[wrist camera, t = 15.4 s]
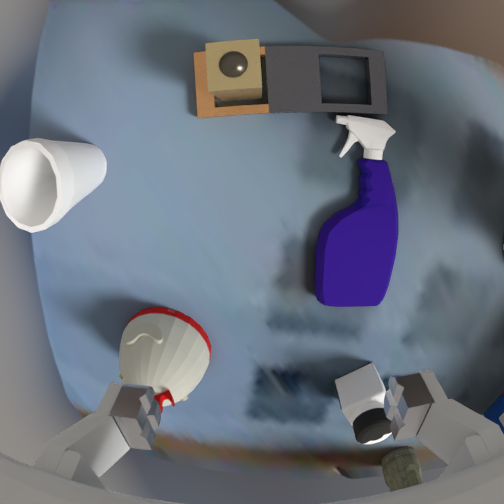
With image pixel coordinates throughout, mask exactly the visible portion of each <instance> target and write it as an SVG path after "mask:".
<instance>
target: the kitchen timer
mask: <svg viewBox="0 0 504 504" xmlns="http://www.w3.org/2000/svg"><path fill="white" fill-rule="evenodd" d="M210 356H211V345H210V342H209V339H208V336H207V334H206V333H205V332H204V330H203V329H202V327H201V326H200V325H199V324H198V323H196V322H195V321H194V320H193V319H192V318H191V317H189V316H187V315H185V314H183V313H181V312H179V311H176V310H172V309H168V308H149V309H145V310H142V311H140V312H139V313H137V314H136V315H134V316H133V317H132V318H131V320H130V321H129V323H128V324H127V326H126V328H125V329H124V331H123V334H122V339H121V344H120V350H119V367H120V372H121V374H120V378H121V379H122V380H123V382H124V384H125V383H126V384H134V385H143V386H151V387H153V389H154V392H155V396H154V399H155V400H156V401H158V403H159V405H160V410H161V413H162V411H163V407H162V406H168V405H171V404H172V405H173V406H174V405H175V404H174V403H176V402H178V401H180V400H181V401H185V400H187V398H188V394H189V393H190V392H191V391H192V390H193V389H194V388H195V387H196V386H197V384H198V383H199V382H200V380H201V379H202V377H203V375H204V373H205V371H206V369H207V367H208V365H209V361H210Z"/></svg>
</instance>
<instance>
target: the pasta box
mask: <svg viewBox="0 0 504 504" xmlns="http://www.w3.org/2000/svg"><path fill="white" fill-rule="evenodd" d="M484 416H485V418H487V419H489V420H490V421H492V422H494V423H496V424H498V425H499V427H500V429H501V431H502V432H503V434H504V392H503V393H502V394H501V395H500V397H499V398H498V399H497V400H496V401H495V402H494V404H493V405H492V406H491V407H490V408H489V409H488V410H487V412H486V413H485V414H484Z"/></svg>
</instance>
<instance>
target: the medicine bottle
mask: <svg viewBox="0 0 504 504" xmlns="http://www.w3.org/2000/svg"><path fill="white" fill-rule="evenodd" d="M335 385H336V390H337V394H338V398H339V402H340V407H341V410H342V412H343V413H344V415H345V416H346V418H347V419H348V421H349V422H350V423H351V425H352V426H353V429H354V433H355V437H356V440H357V441H358V442H360V443H362V444H373V443H377V442H380V441H382V440H384V439H385V438H387V437H388V436H389V435H390V434H391V433H392V432H391V429H390V425H391V422H392V421H391V420H389V419H388V418H387V417H386V414H385V411H384V397H385V393H386V389H385V387H384V384H383V382H382V380H381V378H380V376H379V374H378V372H377V370H376V367H375V365H374V364H373V363H370V364H368V365H366V366H364V367H362V368H359V369H357V370H355V371H353V372H351V373H349V374H347V375H345V376H342V377H340V378H338V379H336V380H335Z"/></svg>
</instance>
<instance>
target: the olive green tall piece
mask: <svg viewBox="0 0 504 504" xmlns="http://www.w3.org/2000/svg"><path fill="white" fill-rule="evenodd" d="M381 464H382V467H383V470H382V471H383V474H384V478H385V482H386V484H387V486H388V487H389V488H390V492H392V491H396V490H400V489H404V488H408V487H412V486H415V485H419V484H422V483H423V480H422V477H421V471H422V470H421V466H420V464H419V461H418V458H417V456H416V455H415V452H414V449H413V448H412V447H408V446H407V447H401V448H398V449H395V450H393V451H391V452H389V453H388V454H386V455H385V456H384V457H383V458H382V459H381Z"/></svg>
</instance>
